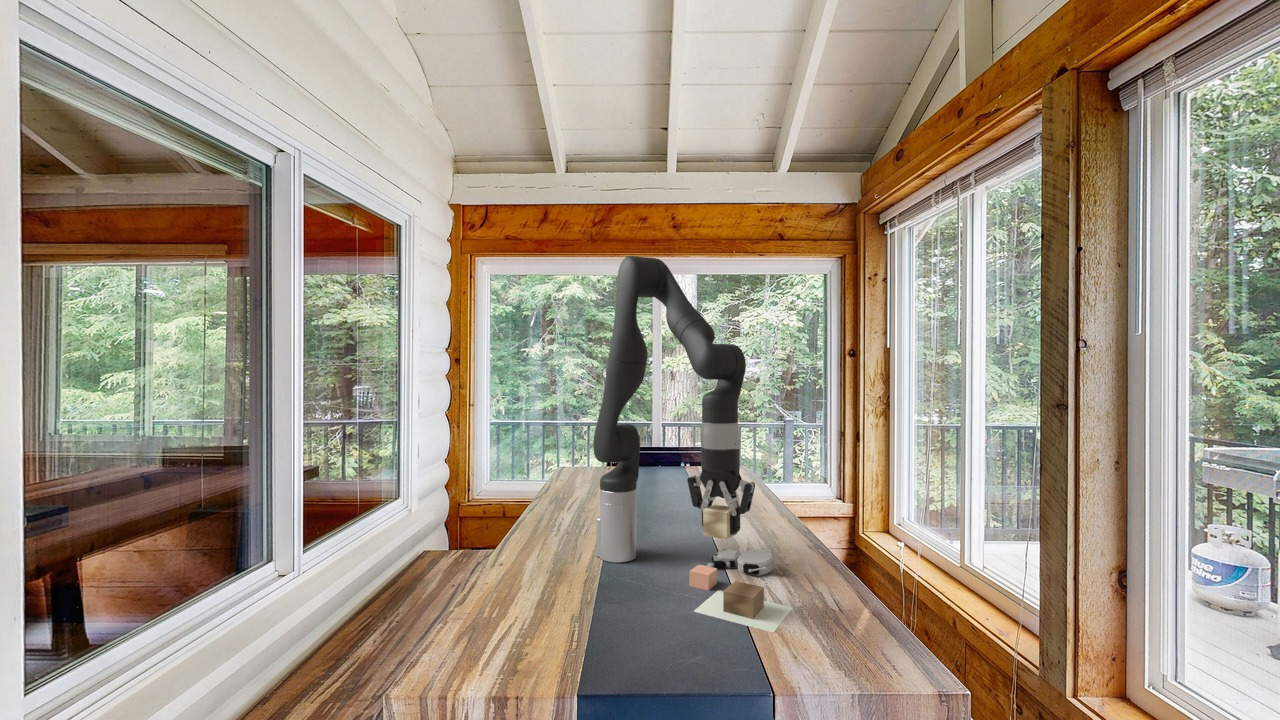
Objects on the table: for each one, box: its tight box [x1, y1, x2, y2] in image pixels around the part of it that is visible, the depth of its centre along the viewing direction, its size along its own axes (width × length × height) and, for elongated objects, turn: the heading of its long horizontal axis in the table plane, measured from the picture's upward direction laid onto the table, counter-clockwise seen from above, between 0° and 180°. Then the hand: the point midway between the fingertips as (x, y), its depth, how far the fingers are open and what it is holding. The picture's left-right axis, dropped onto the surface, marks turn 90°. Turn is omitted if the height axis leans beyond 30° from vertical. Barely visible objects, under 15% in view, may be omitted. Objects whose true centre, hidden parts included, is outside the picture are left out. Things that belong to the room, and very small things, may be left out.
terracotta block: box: [688, 564, 718, 591], centre depth 125 cm, size 4×4×4 cm
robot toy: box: [706, 548, 777, 577], centre depth 136 cm, size 12×4×15 cm
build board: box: [693, 589, 794, 634], centre depth 113 cm, size 16×12×1 cm
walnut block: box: [722, 580, 765, 619], centre depth 113 cm, size 6×6×4 cm
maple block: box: [702, 504, 734, 540], centre depth 113 cm, size 5×5×5 cm
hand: (721, 531), depth 113 cm, fingers closed on maple block, 5 cm apart
